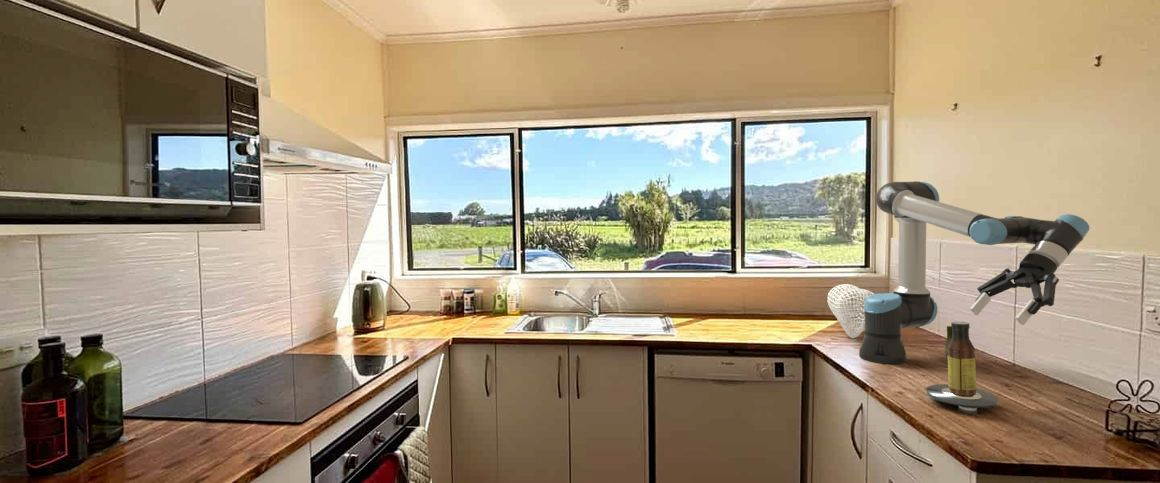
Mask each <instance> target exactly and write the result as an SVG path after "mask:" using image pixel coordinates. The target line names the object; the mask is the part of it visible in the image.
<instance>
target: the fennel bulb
mask: <svg viewBox="0 0 1160 483" xmlns="http://www.w3.org/2000/svg"><path fill="white" fill-rule="evenodd" d="M951 339H952V327H951V325H947V326H946V342H945V347H944V352H945V353H944V354H945V356H946V358H948V343H949V342H950V341H951Z"/></svg>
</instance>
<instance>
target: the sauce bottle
mask: <svg viewBox="0 0 1160 483" xmlns="http://www.w3.org/2000/svg"><path fill="white" fill-rule="evenodd" d="M950 326H951V327H952V339H951V341H950V342H949V343H948V357H947V377H948V378H947V379H948V384H949V390H950V392H952V393H953V394H957V395H961V396H974V395H975V394H976V389H977V373H976V372H977V371H976V370H977V368H976V365H977V364H976V355H975V346H974V345H973V343H972V341H971V340H970V333H969V332H970V331H969V330H970V323H969V322H967V321H966V322H965V321H952V322H951V325H950Z"/></svg>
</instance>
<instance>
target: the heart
mask: <svg viewBox="0 0 1160 483" xmlns="http://www.w3.org/2000/svg"><path fill="white" fill-rule="evenodd" d="M873 294H875V293H874V292H872V291H871V290H868V289H863V288H860V287H858V286H857V285H854V284H850V283H841V284H837V285H835V286H834V287H832V288H831V289H830V290H829V292H828V293H827V299H826V301H827V305H828V307H829V309H830V311H831V312H832V313H833V315H834V317H835V318H836V319H837V321H838V323H839V324H840V325H841V327H842V329H843V330H844V331H845V333H846V335H848V337H850V338H851V339H856V338H858V337H859V336H860V335H861V334H862V333H863V332H864V331H865V316H864V306H865V299H866V298H867V297H868V296H870V295H873ZM852 299H853V300H852ZM852 304H853V305H852Z"/></svg>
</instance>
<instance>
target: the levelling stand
mask: <svg viewBox="0 0 1160 483" xmlns="http://www.w3.org/2000/svg"><path fill="white" fill-rule="evenodd" d="M926 394H927V395H928V397H929V399H930V400H932V401H936V402H942V403H944V404H949V405H953V406H957V408H958V411H959V412H961V413H963V414H966V415H977V414H978V409H986V408H987V409H988V408H993V407H996V406H998V404H999V399H998V397H997V396H996V395H994V394H992V393H990V392H989V391H985V390H982V389H978V388H976V394H975V395H974V396H961V395H957V394H953V393H952V392H950V390H949V384H947V383H946V384H943V383H942V384H933V385H928V386H927V387H926Z"/></svg>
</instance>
